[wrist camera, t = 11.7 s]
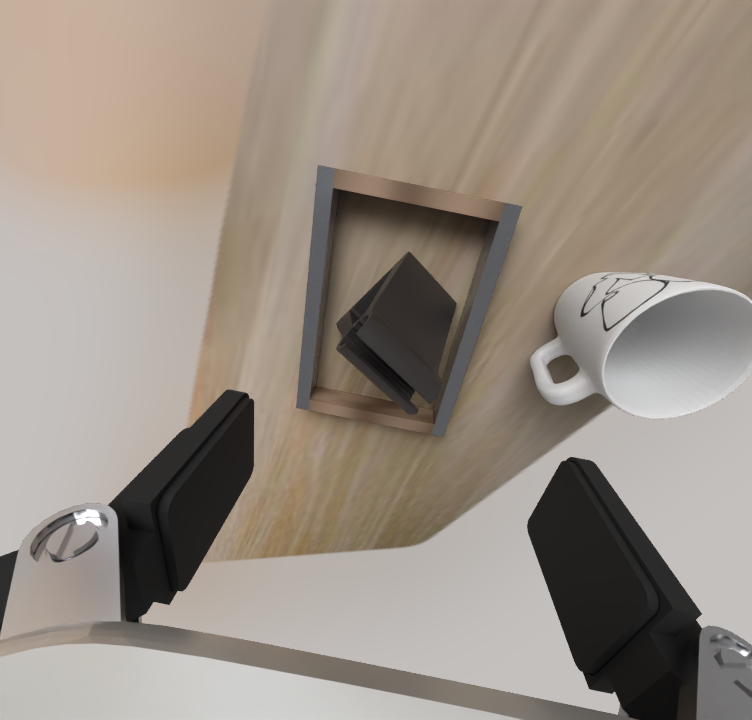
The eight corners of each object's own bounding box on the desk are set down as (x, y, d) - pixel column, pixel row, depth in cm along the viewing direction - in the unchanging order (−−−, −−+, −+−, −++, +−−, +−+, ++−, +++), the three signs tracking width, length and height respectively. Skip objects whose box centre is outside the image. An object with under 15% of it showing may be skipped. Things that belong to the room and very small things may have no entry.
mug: (539, 389, 31) (593, 463, 22) (489, 325, 29) (527, 379, 20) (664, 315, 28) (790, 369, 19) (617, 234, 25) (736, 251, 16)
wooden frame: (511, 206, 25) (522, 206, 23) (440, 421, 34) (443, 437, 32) (325, 168, 25) (318, 165, 23) (303, 394, 34) (296, 407, 32)
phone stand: (382, 365, 32) (370, 448, 21) (336, 321, 30) (298, 387, 19) (456, 302, 29) (487, 362, 18) (409, 250, 27) (412, 281, 16)
